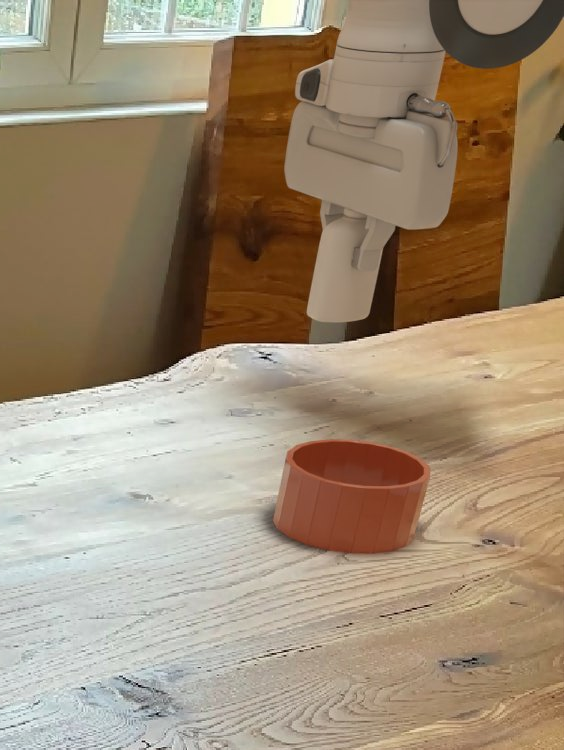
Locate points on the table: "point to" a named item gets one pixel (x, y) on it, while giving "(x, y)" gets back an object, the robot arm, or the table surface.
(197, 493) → the table surface
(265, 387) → the table surface
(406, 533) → the cup
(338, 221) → the eye dropper bottle
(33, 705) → the table surface
